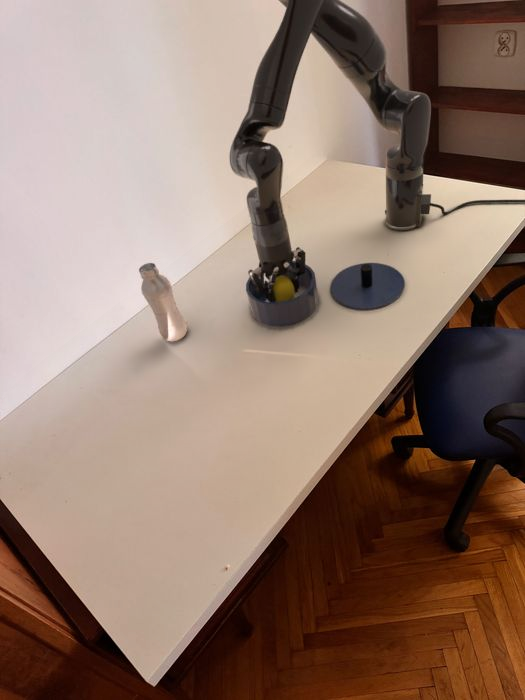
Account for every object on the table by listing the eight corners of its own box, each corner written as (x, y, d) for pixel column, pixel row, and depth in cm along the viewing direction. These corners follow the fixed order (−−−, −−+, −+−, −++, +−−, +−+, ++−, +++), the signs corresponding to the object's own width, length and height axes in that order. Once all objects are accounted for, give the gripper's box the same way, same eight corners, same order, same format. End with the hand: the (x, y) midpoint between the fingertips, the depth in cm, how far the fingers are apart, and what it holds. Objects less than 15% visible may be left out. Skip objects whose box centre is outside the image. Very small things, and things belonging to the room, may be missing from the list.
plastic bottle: (160, 333, 116) (129, 266, 102) (186, 322, 117) (158, 255, 103) (166, 348, 112) (134, 281, 98) (193, 337, 113) (165, 269, 99)
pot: (324, 285, 117) (321, 261, 112) (309, 330, 107) (305, 305, 102) (263, 283, 122) (257, 260, 117) (243, 325, 112) (236, 302, 107)
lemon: (300, 298, 114) (295, 271, 109) (289, 312, 111) (284, 286, 106) (280, 294, 117) (275, 267, 112) (269, 308, 114) (263, 281, 109)
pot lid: (407, 267, 116) (408, 245, 112) (400, 314, 105) (400, 292, 101) (338, 265, 122) (336, 245, 117) (324, 309, 111) (321, 289, 106)
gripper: (249, 256, 97) (265, 317, 109) (308, 228, 100) (317, 291, 112) (234, 241, 102) (250, 301, 114) (291, 215, 105) (301, 276, 117)
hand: (283, 296), depth 113 cm, fingers closed on lemon, 5 cm apart
